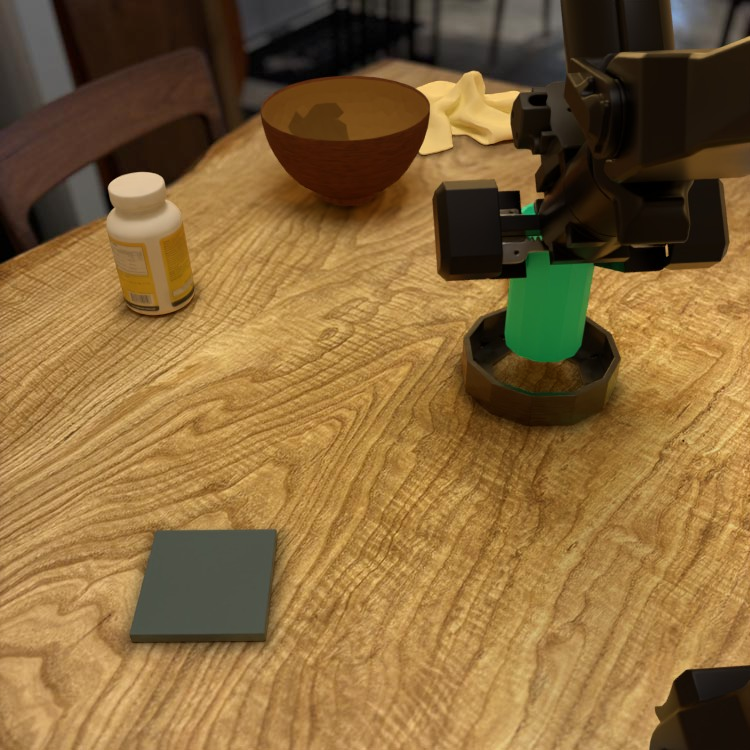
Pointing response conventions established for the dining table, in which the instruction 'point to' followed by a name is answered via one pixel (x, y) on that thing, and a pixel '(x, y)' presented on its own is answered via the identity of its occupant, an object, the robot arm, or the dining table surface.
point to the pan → (538, 407)
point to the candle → (547, 307)
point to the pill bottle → (149, 245)
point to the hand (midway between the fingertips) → (547, 257)
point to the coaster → (206, 586)
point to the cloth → (465, 113)
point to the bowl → (346, 134)
